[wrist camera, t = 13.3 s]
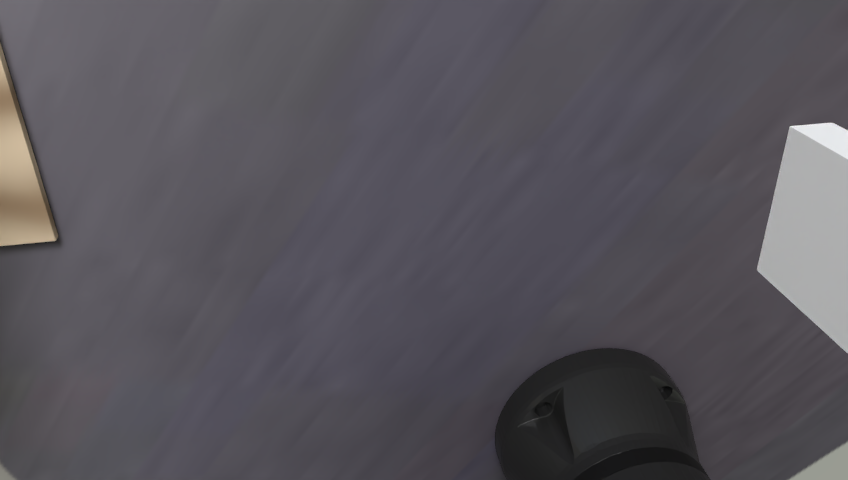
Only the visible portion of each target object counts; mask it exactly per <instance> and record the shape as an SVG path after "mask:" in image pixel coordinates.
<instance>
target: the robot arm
mask: <svg viewBox="0 0 848 480" xmlns="http://www.w3.org/2000/svg"><path fill="white" fill-rule="evenodd" d="M757 271H758V272H759V273H760V274H762V275H763V276H764V277H765V278H766V279H767V280H768V281H769V282H770V283H771V284H772V285H774V286H775V287H776V288H777V289H778V290H779V291H780V292H781V293H782V294H783V295H784V296H786V297H787V298H788V299H789V300H790V301H791V302H792V303H793V304H794V305H795V306H797V307H798V308H799V309H800V310H801V311H802V312H803V313H804V314H805V315H806V316H807V317H809V318H810V319H811V320H812V321H813V322H814V323H815V324H816V325H817V326H818V327H819V328H821V329H822V330H823V331H824V332H825V333H826V334H827V335H828V336H829V337H830V338H831V339H833V340H834V341H835V342H836V343H837V344H838V345H839V346H840V347H841V348H842V349H843V350H845V351H846V352H847V353H848V130H846V129H844V128H842V127H840V126H838V125H836V124H834V123H823V124H811V125H800V126H790V128H789V132H788V136H787V141H786V145H785V150H784V154H783V158H782V163H781V167H780V171H779V176H778V180H777V184H776V189H775V193H774V197H773V202H772V206H771V211H770V215H769V219H768V224H767V228H766V232H765V237H764V241H763V245H762V250H761V254H760V258H759V263H758V267H757ZM495 446H496V452H497V455H498V458H499V461H500V464H501V467H502V470H503V472H504V475H505V477H506V479H507V480H710V478H709V477H708V475H707V474H706V472H705V470H704V469H703V467H702V466H701V464H700V463H699V458H698V454H697V450H696V445H695V441H694V436H693V432H692V427H691V423H690V418H689V414H688V410H687V406H686V403H685V401H684V398H683V396H682V394H681V392H680V391H679V389H678V388H677V386H676V385H675V383H674V382H673V381H672V379H671V378H670V376H669V375H668V374H667V372H666V371H665V370H664V369H663V368H662V367H661V366H660V365H659V364H658V363H657V362H655V361H654V360H652V359H650V358H649V357H647V356H644V355H642V354H639V353H637V352H633V351H629V350H624V349H611V348H608V349H594V350H588V351H583V352H579V353H575V354H572V355H569V356H566V357H564V358H561V359H559V360H557V361H555V362H553V363H551V364H549V365H547V366H545V367H544V368H542V369H540V370H539V371H538V372H536V373H535V374H533V375H532V376H531V377H529V378H528V379H527V380H526V381H525V382H524V383H523V384H522V385H521V386H520V387H519V388H518V389H517V390H516V391H515V392H514V393H513V395H512V396H511V397H510V399H509V400H508V401H507V403H506V405H505V406H504V408H503V410H502V412H501V414H500V417H499V420H498V423H497V426H496V432H495Z"/></svg>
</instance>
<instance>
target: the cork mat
mask: <svg viewBox="0 0 848 480" xmlns="http://www.w3.org/2000/svg"><path fill="white" fill-rule="evenodd" d="M57 238H58V233H57V230H56V226H55V223H54V220H53V216H52V213H51V210H50V206H49V203H48V200H47V196H46V193H45V190H44V186H43V183H42V180H41V176H40V173H39V170H38V166H37V163H36V160H35V156H34V153H33V150H32V146H31V143H30V140H29V136H28V133H27V130H26V126H25V123H24V120H23V116H22V113H21V110H20V106H19V103H18V100H17V96H16V93H15V90H14V86H13V83H12V80H11V76H10V73H9V70H8V66H7V63H6V60H5V56H4V53H3V50H2V46H1V43H0V246H6V245H17V244H28V243H38V242H49V241H56V240H57Z"/></svg>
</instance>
